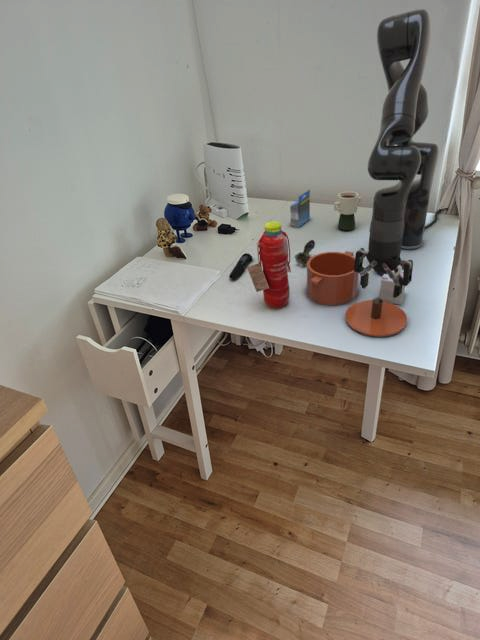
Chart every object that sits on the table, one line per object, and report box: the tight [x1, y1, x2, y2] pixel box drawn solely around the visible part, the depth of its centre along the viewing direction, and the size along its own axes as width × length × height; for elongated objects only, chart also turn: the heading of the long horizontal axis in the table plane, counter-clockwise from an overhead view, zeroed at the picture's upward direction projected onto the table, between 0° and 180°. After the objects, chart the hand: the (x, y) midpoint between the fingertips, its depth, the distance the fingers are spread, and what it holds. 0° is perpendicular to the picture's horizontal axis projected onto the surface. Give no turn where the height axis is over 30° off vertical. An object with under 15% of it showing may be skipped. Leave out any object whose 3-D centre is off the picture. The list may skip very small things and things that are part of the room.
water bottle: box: [246, 220, 292, 309], centre depth 121 cm, size 12×8×25 cm, turn 107°
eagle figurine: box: [294, 239, 316, 268], centre depth 146 cm, size 8×7×9 cm
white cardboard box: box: [379, 270, 406, 306], centre depth 123 cm, size 6×6×7 cm
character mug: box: [333, 191, 362, 231], centre depth 161 cm, size 11×7×13 cm, turn 108°
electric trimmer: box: [228, 252, 253, 280], centre depth 146 cm, size 4×16×3 cm, turn 159°
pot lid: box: [345, 297, 408, 337], centre depth 116 cm, size 16×16×6 cm
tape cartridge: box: [289, 189, 311, 228], centre depth 169 cm, size 9×4×12 cm, turn 144°
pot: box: [306, 250, 360, 306], centre depth 128 cm, size 15×20×10 cm
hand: (379, 291), depth 113 cm, fingers open, 8 cm apart
